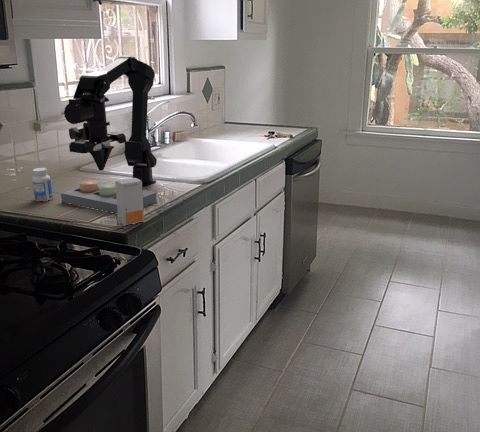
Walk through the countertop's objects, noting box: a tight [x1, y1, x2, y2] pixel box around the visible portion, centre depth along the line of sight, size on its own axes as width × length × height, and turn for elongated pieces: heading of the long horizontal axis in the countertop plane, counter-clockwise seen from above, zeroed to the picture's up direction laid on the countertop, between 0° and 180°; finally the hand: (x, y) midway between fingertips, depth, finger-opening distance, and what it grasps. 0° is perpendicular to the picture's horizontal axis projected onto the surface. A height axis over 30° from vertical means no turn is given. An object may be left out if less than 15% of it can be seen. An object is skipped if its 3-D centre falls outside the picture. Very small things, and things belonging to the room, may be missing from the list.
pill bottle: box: [31, 167, 54, 202], centre depth 166 cm, size 6×5×10 cm
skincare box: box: [114, 177, 145, 226], centre depth 144 cm, size 6×4×12 cm
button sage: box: [98, 183, 116, 197], centre depth 163 cm, size 6×6×3 cm
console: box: [60, 181, 157, 214], centre depth 164 cm, size 15×25×3 cm, turn 59°
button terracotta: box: [79, 180, 99, 194], centre depth 167 cm, size 6×6×3 cm
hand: (101, 170), depth 162 cm, fingers closed
